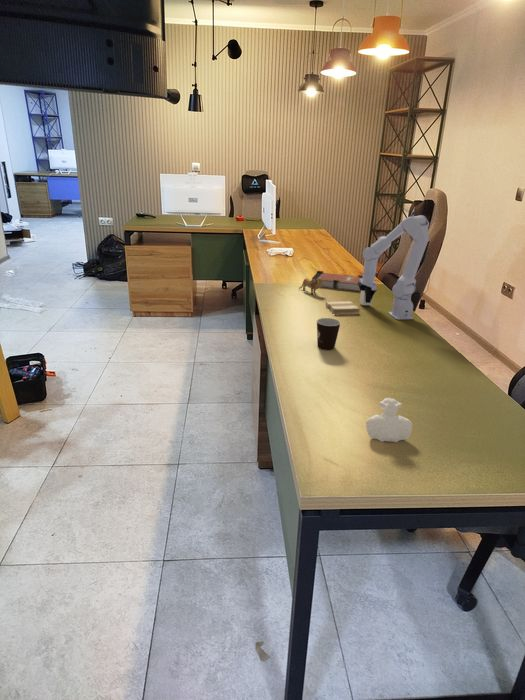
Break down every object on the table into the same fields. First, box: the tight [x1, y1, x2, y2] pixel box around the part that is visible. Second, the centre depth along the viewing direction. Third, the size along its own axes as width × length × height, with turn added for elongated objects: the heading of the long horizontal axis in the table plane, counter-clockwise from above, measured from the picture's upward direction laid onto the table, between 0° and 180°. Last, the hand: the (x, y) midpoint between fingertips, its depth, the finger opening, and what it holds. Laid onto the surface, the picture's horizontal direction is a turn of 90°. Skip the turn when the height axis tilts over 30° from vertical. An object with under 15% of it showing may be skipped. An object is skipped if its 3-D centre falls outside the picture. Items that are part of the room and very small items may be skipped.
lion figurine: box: [298, 278, 323, 295], centre depth 244 cm, size 15×5×9 cm, turn 45°
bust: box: [365, 397, 413, 443], centre depth 124 cm, size 12×8×11 cm
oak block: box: [325, 300, 361, 316], centre depth 220 cm, size 12×12×3 cm
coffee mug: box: [316, 317, 341, 351], centre depth 179 cm, size 12×9×10 cm
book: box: [311, 270, 363, 292], centre depth 261 cm, size 26×18×5 cm
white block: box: [358, 290, 374, 306], centre depth 227 cm, size 4×4×6 cm
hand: (365, 300), depth 228 cm, fingers closed on white block, 4 cm apart
